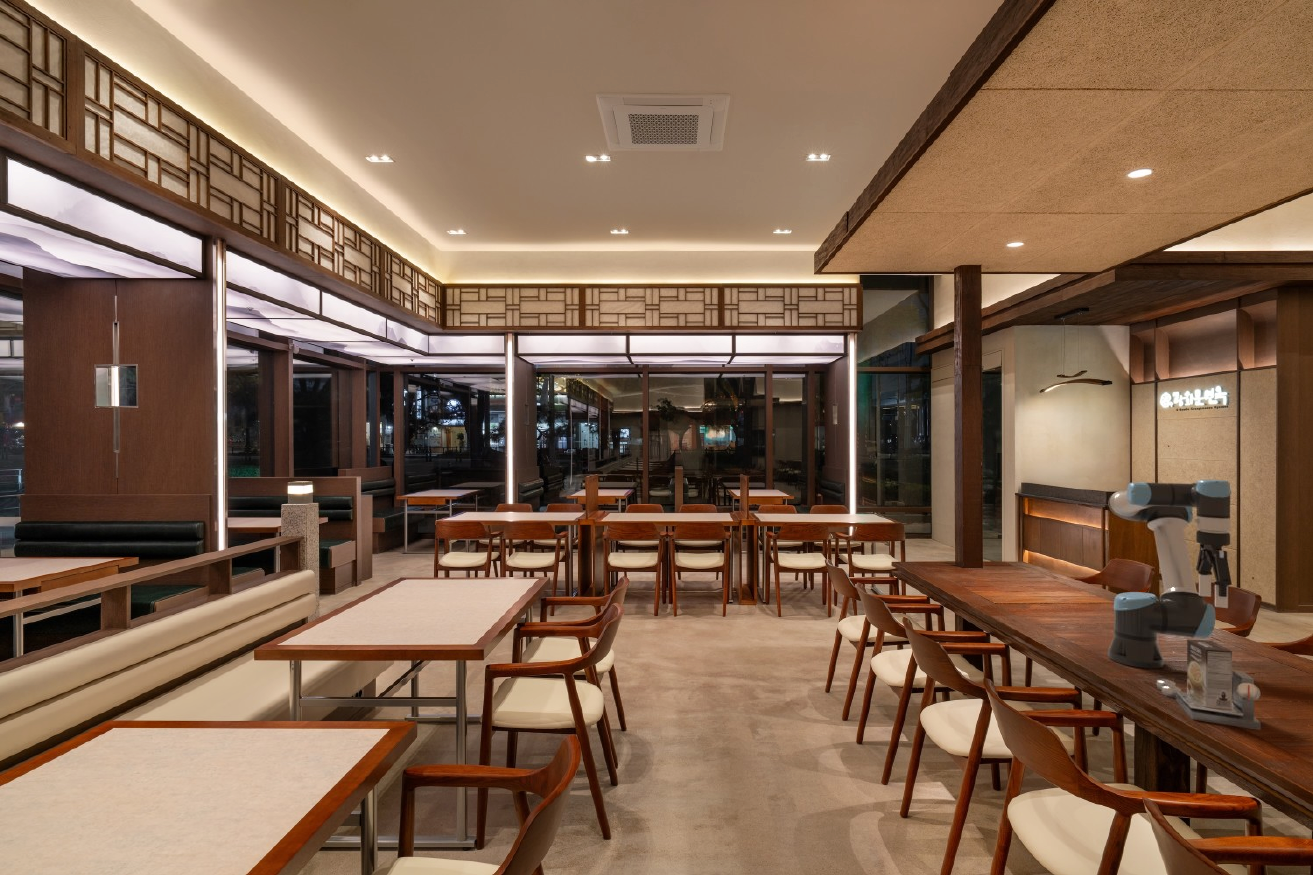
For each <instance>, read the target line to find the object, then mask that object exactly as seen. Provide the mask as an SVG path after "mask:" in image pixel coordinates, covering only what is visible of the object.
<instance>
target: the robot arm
mask: <svg viewBox="0 0 1313 875" xmlns="http://www.w3.org/2000/svg"><path fill="white" fill-rule="evenodd" d="M1230 484H1231V483H1230V482H1229V481H1228V480H1223V479H1222V480H1221V479H1208V478H1207V479H1206V478H1205V479H1198V480H1197V481H1196V482H1191V483H1182V482H1181V483H1179V482H1177V483H1176V482H1175V483H1173V482H1171V483H1170V482H1169V483H1167V482H1166V483H1165V482H1144V481H1140V482H1139V481H1138V482H1130V483H1128V486H1127V488H1126V490H1125V489H1123V490H1119V491H1116V492H1114V493H1113V494H1111V495H1110V496H1109V499H1108V502H1107V503H1108V507H1109V510H1110V511H1111V512H1112V513H1113V515H1115V516H1118V517H1119V518H1121V519H1125V520H1127V521H1132V522H1133V521H1134V522H1145V523H1146V524H1147V526H1146V527H1147V528H1148V529H1149V530H1151V531H1153V535H1154V540H1155V546H1156V552H1157V556H1158V563H1159V567H1160V568H1159V569H1160V574H1161V579H1162V585H1163V589H1164V590H1163V592H1162V593H1161V594H1160V596H1159V598H1158V597H1157V596H1156V595H1155V594H1154V593H1149V592H1141V591H1140V592H1139V591H1130V592H1129V591H1128V592H1122V593H1118V594H1117V595H1116V596H1115V597H1114V601H1113V602H1114V604H1113V611H1114V612H1113V613H1114V614H1113V615H1114V616H1113V618H1114V619H1113V620H1114V621H1113V622H1114V624H1113V625H1114V628H1113V629H1114V631H1113V638H1112V640H1111V643H1110V645H1109V647H1108V649H1107V656H1108V658H1109V659H1110V660H1112V661H1114V662H1116V663H1119V664H1121V665H1126V666H1131V667H1136V668H1141V669H1142V668H1143V669H1152V670H1153V669H1154V670H1155V669H1160V668H1161V669H1162V668H1163V667H1164V666H1165V665H1164V657H1163V654H1162V652H1161V649H1160V647H1159V644H1158V639H1157V638H1158V636H1157V635H1159V634H1160V635H1166V636H1167V635H1169V636H1175V637H1184V638H1191V639H1195V638H1197V639H1208V638H1209V637H1211V635H1212V634H1213V633H1214V630H1215V625H1216V611H1215V609H1216V608H1223V609H1224V608H1225V609H1229V586H1231V585H1232V579H1231V577H1232V576H1231V574H1230V572H1231V571H1230V566H1229V562H1228V552H1227V550H1223V548H1222V547H1229V546H1230V545H1231V534H1230V533H1229V532H1230V531H1232V530H1231V528H1232V527H1231V495H1232V491H1231V485H1230ZM1195 508H1196V518H1195V519H1194V523H1196V529H1197V531H1195V532H1196V536H1195V538H1196V543H1198V544H1199V551H1198V557H1197V562H1196V566H1195V567H1196V568H1195V569H1196V572H1198V590H1197V587H1196V581H1195V577H1194V571H1193V566H1192V563H1191V562H1192V561H1191V557H1190V553H1189V547H1188V543H1187V539H1186V534H1185V530H1186V529H1187V528H1188V527H1189V524H1190V523H1192V522H1193V518H1194V513H1193V511H1194V510H1193V509H1195ZM1212 570H1213V572H1212ZM1213 574H1214V575H1213ZM1212 576H1214V578H1215V581H1214V582H1213V585H1214V605H1213V604H1211V603H1209V602H1206V601H1205V597H1208V598H1209V597H1210V598H1211V597H1212Z"/></svg>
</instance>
